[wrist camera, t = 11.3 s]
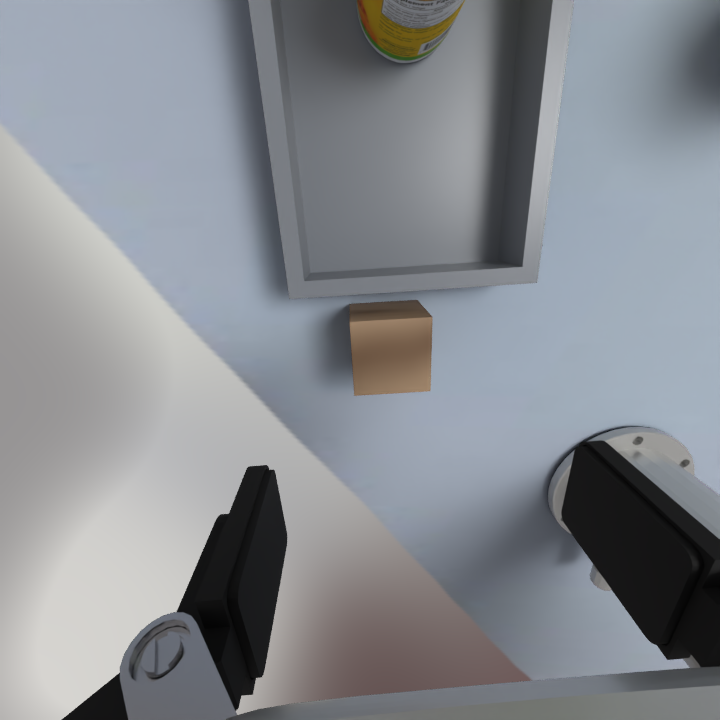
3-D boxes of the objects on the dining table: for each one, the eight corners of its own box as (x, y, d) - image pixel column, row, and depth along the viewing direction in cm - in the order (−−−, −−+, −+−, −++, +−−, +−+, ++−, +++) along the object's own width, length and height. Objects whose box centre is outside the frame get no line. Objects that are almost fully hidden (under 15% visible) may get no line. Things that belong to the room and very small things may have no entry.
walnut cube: (416, 362, 27) (430, 391, 23) (353, 366, 27) (354, 395, 23) (417, 299, 25) (432, 317, 21) (349, 303, 25) (349, 321, 21)
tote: (507, 273, 25) (537, 282, 21) (298, 286, 25) (289, 299, 21) (553, -196, 16) (616, -325, 13) (240, -177, 16) (206, -300, 13)
